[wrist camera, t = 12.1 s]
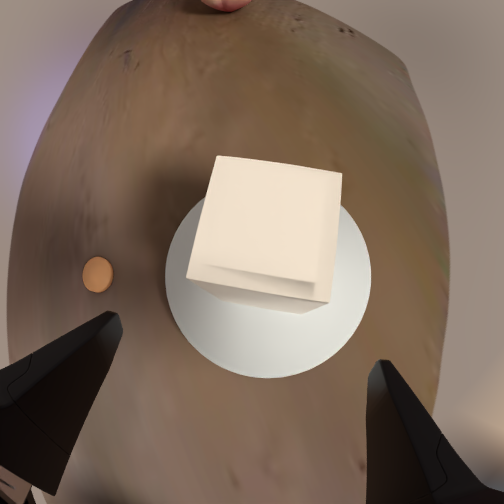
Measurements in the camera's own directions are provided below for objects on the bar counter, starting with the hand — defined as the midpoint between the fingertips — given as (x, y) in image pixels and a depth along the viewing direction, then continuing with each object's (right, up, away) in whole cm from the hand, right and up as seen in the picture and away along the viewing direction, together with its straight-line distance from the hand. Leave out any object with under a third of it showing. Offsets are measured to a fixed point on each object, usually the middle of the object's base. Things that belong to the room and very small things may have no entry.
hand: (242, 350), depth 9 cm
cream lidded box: (+1, +2, +13) cm, 13 cm away
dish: (+2, +1, +14) cm, 14 cm away
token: (-14, +1, +15) cm, 20 cm away
